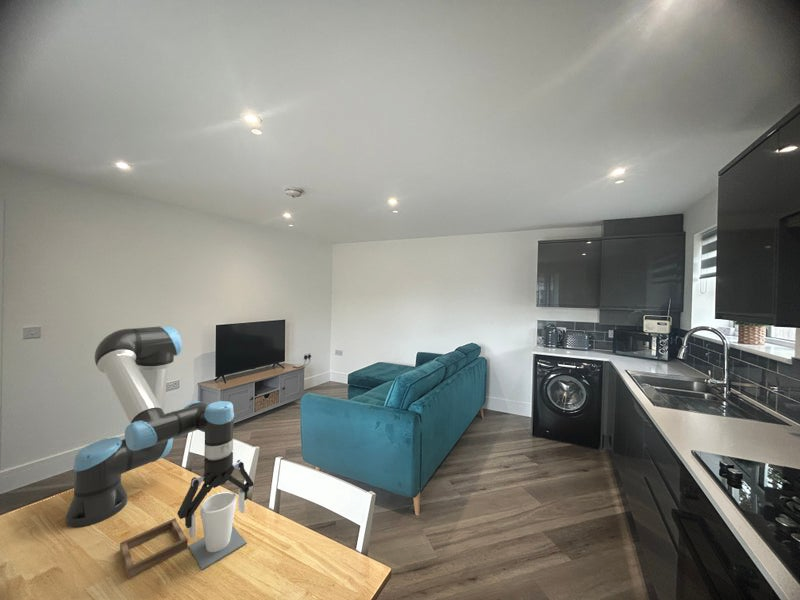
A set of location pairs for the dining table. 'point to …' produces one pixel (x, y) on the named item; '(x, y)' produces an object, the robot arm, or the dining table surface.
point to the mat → (209, 558)
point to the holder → (157, 557)
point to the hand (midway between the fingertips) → (218, 523)
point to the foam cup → (218, 520)
